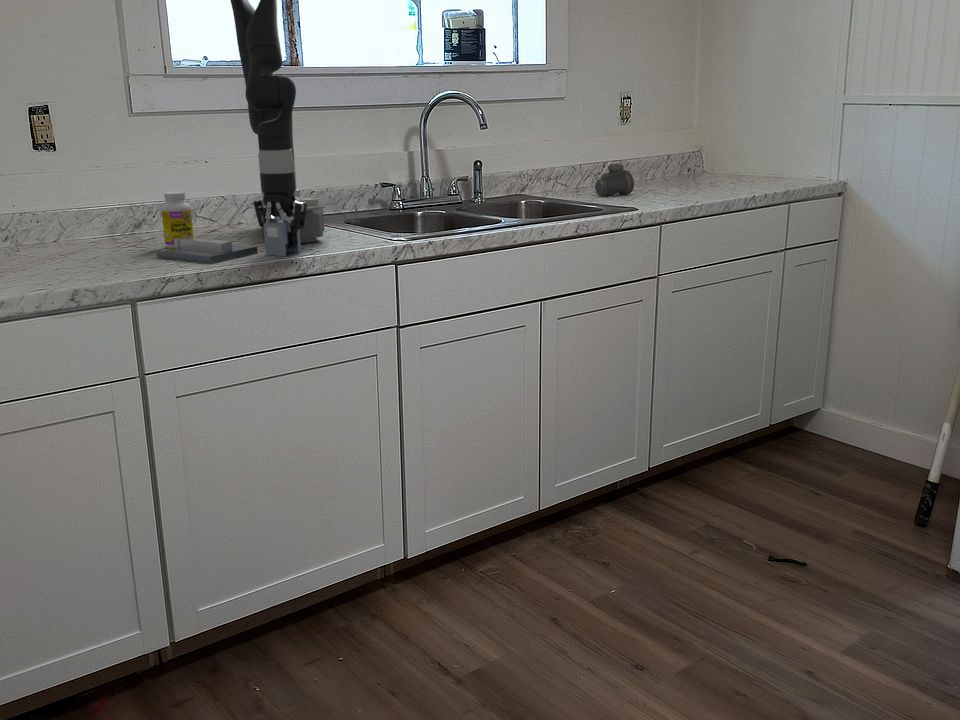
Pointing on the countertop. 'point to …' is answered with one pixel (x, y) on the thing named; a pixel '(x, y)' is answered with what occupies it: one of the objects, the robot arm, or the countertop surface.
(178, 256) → the grey flat block
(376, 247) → the countertop surface
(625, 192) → the pipe fitting
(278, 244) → the block
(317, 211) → the electrical outlet
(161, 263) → the countertop surface
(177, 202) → the supplement bottle
